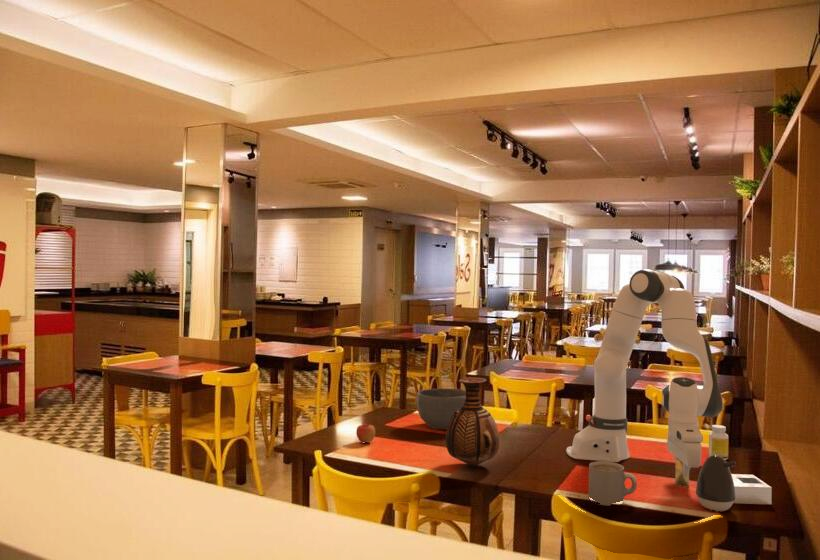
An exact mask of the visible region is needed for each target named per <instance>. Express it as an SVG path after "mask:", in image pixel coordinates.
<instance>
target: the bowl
mask: <svg viewBox="0 0 820 560" xmlns="http://www.w3.org/2000/svg"><path fill="white" fill-rule="evenodd" d="M415 395H416V396H415V405H416V410H417V412H418V414H419V417H420V419H421V420H422V421H423V422H424V423H425V424H426V426H428V427H430V428H432V429H434V430H447V427H448V424H449V421H450V419H451V417H452V415H453V414H454V412H455V411H457V410H458V409H460V408H461V407H463V405H464V403H465V398H466V390H463V389H460V388H441V387H440V388H429V389H421V390H419V391H417V392H416V394H415Z"/></svg>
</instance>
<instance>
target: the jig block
mask: <svg viewBox="0 0 820 560" xmlns="http://www.w3.org/2000/svg"><path fill="white" fill-rule="evenodd" d="M731 475H732V478H733V482H734V488H735V500H734V501H733V504H744V505H745V504H746V505H748V504H749V505H772V492H773V491H772V490H773V489H772V488H773V487H772V486H770V485H769V484H767V483H766V482H764V481H763V480H761V479H760V478H758V477H757V476H755V475H754V474H746V473H745V474H740V473H731Z"/></svg>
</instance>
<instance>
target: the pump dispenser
mask: <svg viewBox="0 0 820 560" xmlns="http://www.w3.org/2000/svg"><path fill="white" fill-rule="evenodd" d="M734 466H737V463H736V461H726V460H724V459H723V458H722V457H720V456H718V455H712V456H710V457H709V456H708V457H707V458H706V459H705V461H704V462H703V464H702V466H701V468H700V471H699V473H698V478H697V481H696V487H695V488H696V489H695V494H696V496H697V499H698V502H699V504H701V506H702V507H704V508H705V509H707V508H708V509H707V510H709V509H711V510H710V511H712V510H715V511H714V512H719V511H720V512H725V511H727V510H730V508H731V507H732V506H733V504H734V503H733V501H734V500H735V488H734V482H733V478H732V475H731V474H732V472H731V470H730V468H731V467H734Z"/></svg>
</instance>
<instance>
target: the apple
mask: <svg viewBox="0 0 820 560" xmlns="http://www.w3.org/2000/svg"><path fill="white" fill-rule="evenodd" d="M375 435H376V428H375V426H374V425H372V424H364V422H362V424H361V425H358V426H357V428H356V437H357V439H358V440H359V442H361V443H362V442H367V443H368V442H370V441H371V442H373V440H374V438H375ZM371 442H370V443H371Z"/></svg>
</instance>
